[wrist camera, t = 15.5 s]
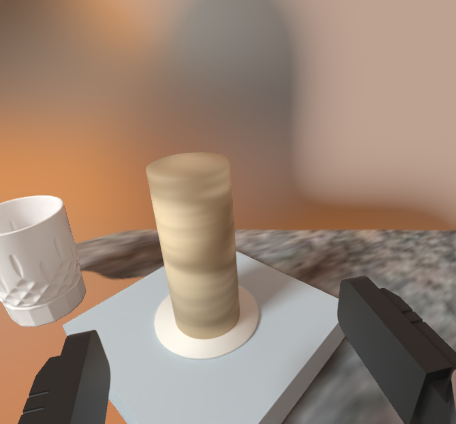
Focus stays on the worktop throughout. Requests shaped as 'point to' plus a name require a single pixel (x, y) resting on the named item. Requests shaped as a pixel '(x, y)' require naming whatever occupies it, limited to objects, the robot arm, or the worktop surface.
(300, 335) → the light grey plinth
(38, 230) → the white cup
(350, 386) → the worktop surface
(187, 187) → the maple pillar
